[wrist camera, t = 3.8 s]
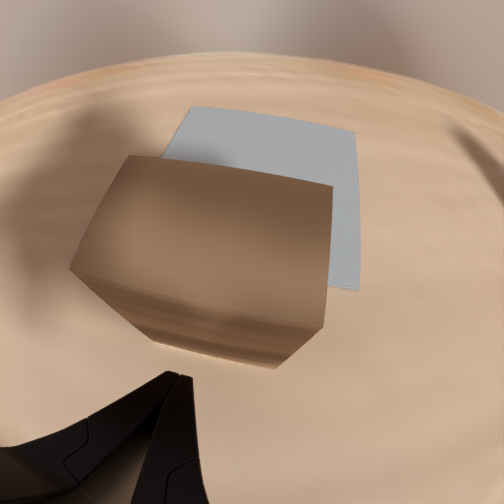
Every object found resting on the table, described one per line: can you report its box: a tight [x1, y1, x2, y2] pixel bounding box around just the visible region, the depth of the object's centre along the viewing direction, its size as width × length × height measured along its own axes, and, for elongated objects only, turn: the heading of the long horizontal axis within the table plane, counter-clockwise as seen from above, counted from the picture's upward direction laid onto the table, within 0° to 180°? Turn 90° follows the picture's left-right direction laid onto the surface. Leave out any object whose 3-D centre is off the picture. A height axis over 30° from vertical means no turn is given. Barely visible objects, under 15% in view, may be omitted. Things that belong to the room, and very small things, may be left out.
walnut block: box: [69, 155, 333, 370], centre depth 12 cm, size 4×7×10 cm, turn 78°
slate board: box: [162, 106, 361, 291], centre depth 22 cm, size 16×16×1 cm
